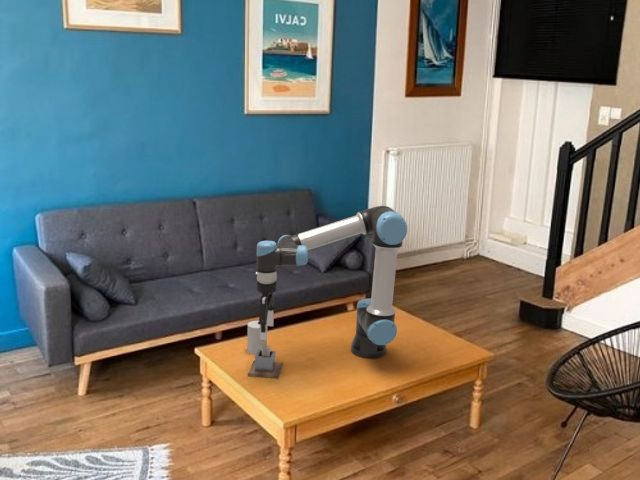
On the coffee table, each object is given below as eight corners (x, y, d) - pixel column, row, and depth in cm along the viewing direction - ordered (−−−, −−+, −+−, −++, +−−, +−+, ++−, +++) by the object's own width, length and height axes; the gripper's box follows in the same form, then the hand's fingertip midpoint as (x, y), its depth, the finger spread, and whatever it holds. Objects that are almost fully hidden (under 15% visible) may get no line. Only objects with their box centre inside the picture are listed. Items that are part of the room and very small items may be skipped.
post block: (282, 365, 275) (283, 341, 273) (278, 378, 264) (278, 354, 261) (253, 362, 277) (253, 339, 274) (247, 376, 265) (247, 352, 262)
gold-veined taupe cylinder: (263, 355, 284) (263, 329, 280) (244, 353, 285) (245, 326, 282) (268, 347, 291) (269, 321, 288) (250, 345, 293) (250, 319, 290)
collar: (275, 364, 273) (275, 350, 271) (272, 372, 266) (272, 358, 265) (258, 363, 274) (258, 349, 272) (254, 370, 267) (255, 356, 265)
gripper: (263, 270, 273) (263, 319, 278) (250, 291, 249) (251, 344, 254) (281, 271, 272) (281, 320, 278) (270, 292, 248) (270, 346, 254)
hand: (266, 332), depth 266 cm, fingers open, 13 cm apart
